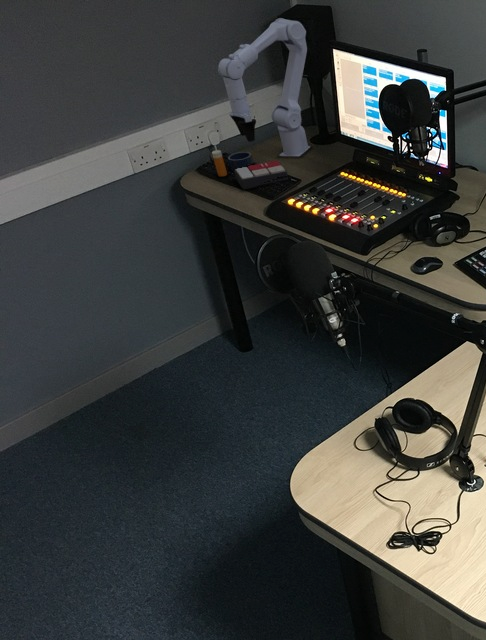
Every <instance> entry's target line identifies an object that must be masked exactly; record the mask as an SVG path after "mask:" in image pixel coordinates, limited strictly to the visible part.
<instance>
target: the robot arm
mask: <svg viewBox="0 0 486 640" xmlns="http://www.w3.org/2000/svg"><path fill="white" fill-rule="evenodd" d="M306 36H307V30H306V29H305V27H304V25H303V24H302V23H301V22H300V21H298V20H291V19H285V18H283V17H279V18H277V19H275V20H274V21H273V22H271V23H270V25H269V26H268V28H266V29H265V30H264V32H262V33H261V35H259V36H258V37H257V38H256V39H255V40H254V41H253V42H252V43H250V44H249V43H244V44H242V43H241V44H240V45H239V48H238V49H237V50H236V51H235V52H233V53H230V54H229V55H228V58H222V59H221V60H220V61H219V64H218V68H217V73H218V74H219V75H220V76H221V77H222V79H223V83H224V86H225V91H226V93H227V97H228V102H229V105H230V108H231V109H230V110H231V111H230V112H228V115H229V117H230V118H231V119H232V120H233V122H234V123H235V126H236V128H237V130H238V132H239V133H240V135H241V137H244V136H245V138H246V140H247V142H248V143H250V142H255V140H256V136H255V134H256V133H255V131H256V130H255V129H256V124H257V120H256V119H255V118H252V116H251V115H252V114H251V113H252V110H251V108H250V103H249V101H248V97H247V93H246V88H245V84H244V81H243V75H244V72H245V70H247V68H249V67H250V66H251V65H253V63H255V62H256V61H257V60H258V58H259V53H261V52H262V51H264V50H265V49H266V48H268V47H269V46H271V45H272V44H273V43H275V42H276V41H281V42H283V43H284V45H285V46H286V48H287V49H288V51H289V52H288V58H287V63H286V70H285V74H284V80H283V87H282V93H281V97H280V99H278V100H277V101H276V102H275V106H274V108H273V110H272V112H271V121H272V122H273V123H274V124H275V125H276V127H277V130H278V135H279V138H280V142H281V147H282V150H283V151H282V152H281V153H280V154H279V157H301V156H302V155H303V154H304V153H305V152H307V151H308V150H309V149H310V148H311V145H309V144H308V140H307V139H308V138H307V135H306V131H305V128H304V127H303V126H302V114H301V113H302V108H301V106H300V104H299V103H298V101H299V95H300V91H301V85H302V79H303V74H304V68H305V64H306V59H307V53H308V46H307V41H306Z"/></svg>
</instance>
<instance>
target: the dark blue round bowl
mask: <svg viewBox="0 0 486 640" xmlns="http://www.w3.org/2000/svg"><path fill="white" fill-rule="evenodd" d="M227 160H228V163H229V166H231V167H234V168H239V167H244V166H246V165H248V164H250V163H253V164H254V165H255V163H254V160H253V155H252V153H251V152H248V151H240V152H239V151H238V152H235V153H232V154H230V155H228V156H227ZM231 167H230V169H231V170H232V171H234V170H235V169H234V168H231Z"/></svg>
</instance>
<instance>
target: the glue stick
mask: <svg viewBox="0 0 486 640" xmlns="http://www.w3.org/2000/svg"><path fill="white" fill-rule="evenodd" d="M211 155H212V157H213V158H212V159H213V162H214V166H215V169H216V173H217V176H218V177H225V176H228V172H227V168H226V164H225V160H224V156H223V152H222V151H221V150H220V149H216V150H213V151H212V152H211Z"/></svg>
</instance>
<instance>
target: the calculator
mask: <svg viewBox="0 0 486 640" xmlns="http://www.w3.org/2000/svg"><path fill="white" fill-rule="evenodd" d="M233 172H234V177H235V180H236V181H237V183H238V185H240V187H241V189H242V190H248V189H252V188H255V187H258V186H259V187H260V186H264V185H268V184H272V183H276V182H278V183H280V182H284V181H289V176H288V171H287V169H286V168H285V167H284V166H283V165H282V164H281V163H280V162H279V161H278V160H273V161H267V162H263V163H257V164H254V165H250V166H248V167H242V168H237V169H235V170H233ZM280 176H288V177H287V178H283V179H278V180H274V181H270V182H267V181H269V180H272V179H275V178H277V177H280ZM264 182H266V183H264ZM261 183H262V184H261Z"/></svg>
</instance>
